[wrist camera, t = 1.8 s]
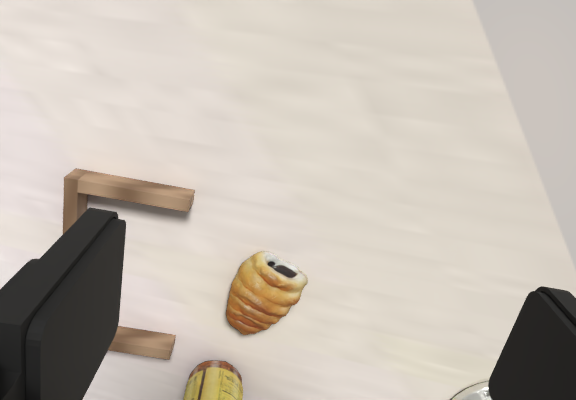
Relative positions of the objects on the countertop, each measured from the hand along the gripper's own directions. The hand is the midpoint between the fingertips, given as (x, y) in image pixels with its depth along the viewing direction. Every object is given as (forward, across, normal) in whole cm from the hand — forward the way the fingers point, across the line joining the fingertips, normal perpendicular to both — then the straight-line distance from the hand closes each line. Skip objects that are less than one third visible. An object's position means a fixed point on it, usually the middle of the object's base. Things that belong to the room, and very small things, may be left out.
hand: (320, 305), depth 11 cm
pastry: (+34, -1, +21) cm, 40 cm away
